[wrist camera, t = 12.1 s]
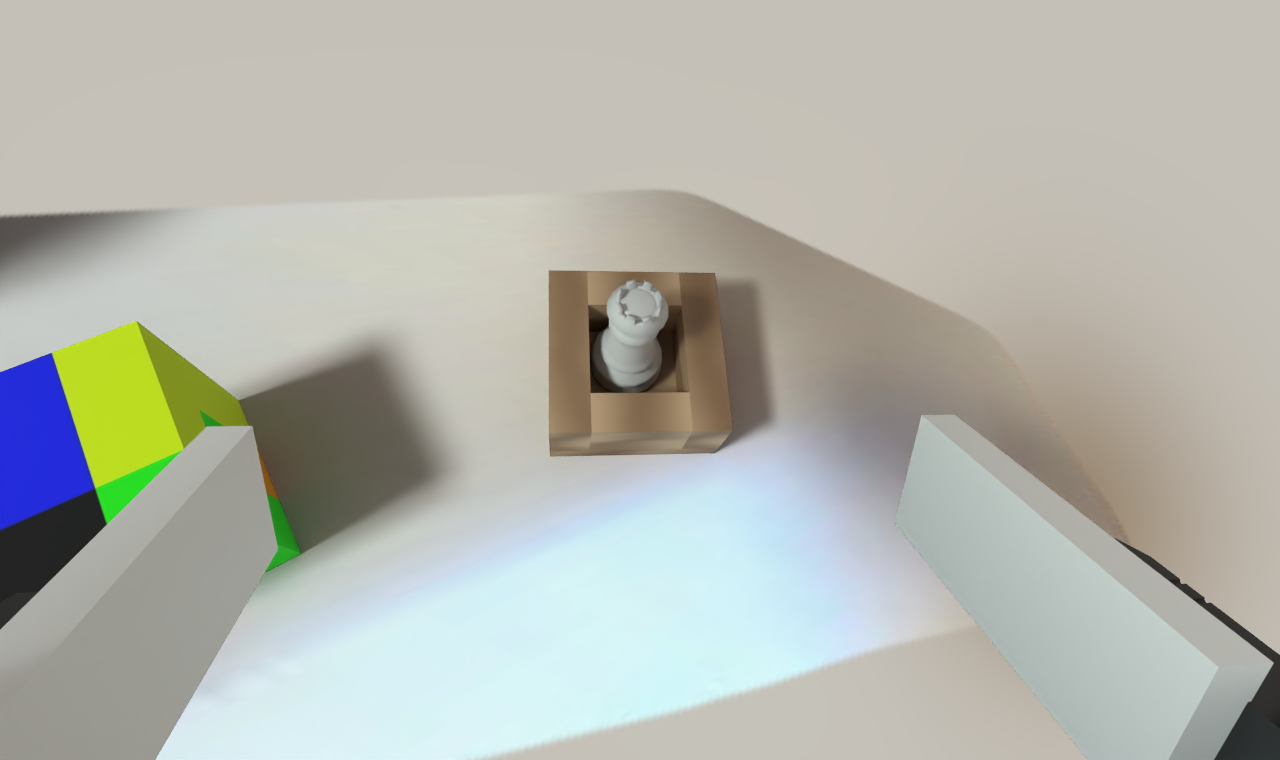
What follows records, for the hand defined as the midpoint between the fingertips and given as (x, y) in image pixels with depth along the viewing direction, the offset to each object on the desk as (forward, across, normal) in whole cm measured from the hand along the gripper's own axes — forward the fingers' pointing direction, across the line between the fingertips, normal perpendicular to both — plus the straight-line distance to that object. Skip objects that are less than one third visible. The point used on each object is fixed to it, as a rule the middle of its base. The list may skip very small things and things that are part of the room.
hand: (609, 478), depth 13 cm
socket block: (+26, +4, -9) cm, 28 cm away
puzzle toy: (+21, -21, -15) cm, 33 cm away
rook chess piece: (+26, +4, -8) cm, 27 cm away
